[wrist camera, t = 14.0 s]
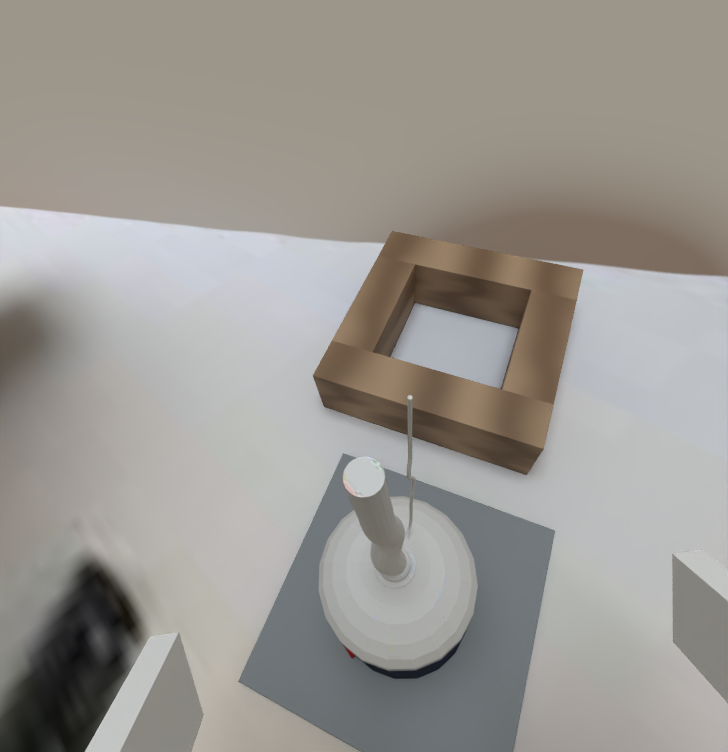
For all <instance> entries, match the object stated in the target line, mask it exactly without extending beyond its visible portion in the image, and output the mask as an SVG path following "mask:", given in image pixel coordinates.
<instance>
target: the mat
mask: <svg viewBox="0 0 728 752" xmlns="http://www.w3.org/2000/svg"><path fill="white" fill-rule="evenodd" d="M353 459H356V458H355V457H352V456H349V455H347V454H344V453H343V455H342V458H341V460H340V462H339V464H338V466H337V468H336V471H335V473H334V475H333V477H332V479H331V481H330V484H329V486H328V488H327V490H326V492H325V494H324V497H323V499H322V501H321V503H320V505H319V508H318V510H317V512H316V514H315V516H314V518H313V521H312V523H311V525H310V527H309V529H308V531H307V534H306V536H305V538H304V540H303V542H302V544H301V547H300V549H299V551H298V553H297V555H296V557H295V560H294V562H293V564H292V566H291V568H290V570H289V573H288V575H287V577H286V579H285V581H284V583H283V586H282V588H281V590H280V592H279V594H278V597H277V599H276V601H275V603H274V605H273V607H272V610H271V612H270V614H269V616H268V618H267V620H266V623H265V625H264V627H263V629H262V631H261V633H260V636H259V638H258V640H257V642H256V644H255V646H254V649H253V651H252V653H251V655H250V657H249V659H248V662H247V664H246V666H245V668H244V670H243V672H242V675H241V677H240V679H239V681H238V682H240V683H242V684H243V685H245V686H247V687H249V688H250V689H252V690H254V691H256V692H257V693H259V694H261V695H263V696H264V697H266V698H268V699H270V700H271V701H273V702H275V703H277V704H279V705H280V706H282V707H284V708H286V709H287V710H289V711H291V712H293V713H294V714H296V715H298V716H300V717H301V718H303V719H305V720H307V721H308V722H310V723H312V724H314V725H315V726H317V727H319V728H321V729H322V730H324V731H326V732H328V733H329V734H331V735H333V736H335V737H337V738H338V739H340V740H342V741H344V742H345V743H347V744H349V745H351V746H352V747H354V748H356V749H358V750H359V751H361V752H513V749H514V743H515V738H516V733H517V728H518V722H519V717H520V712H521V706H522V701H523V696H524V691H525V685H526V680H527V675H528V670H529V664H530V659H531V654H532V649H533V643H534V638H535V633H536V628H537V622H538V617H539V612H540V606H541V601H542V596H543V591H544V585H545V580H546V575H547V570H548V564H549V559H550V554H551V549H552V543H553V538H554V533H555V531H554V530H552V529H549V528H546V527H544V526H541V525H538V524H535V523H533V522H530V521H527V520H524V519H522V518H519V517H516V516H513V515H511V514H508V513H505V512H503V511H500V510H497V509H494V508H492V507H489V506H486V505H483V504H481V503H478V502H475V501H472V500H470V499H467V498H464V497H461V496H459V495H456V494H453V493H451V492H448V491H445V490H442V489H440V488H437V487H434V486H431V485H429V484H426V483H423V482H420V481H418V480H416V483H415V490H414V496H413V499H416V500H420V501H423V502H426V503H428V504H430V505H431V506H433V507H434V508H436V509H437V510H439V511H441V512H442V513H444V514H445V515H447V516H448V518H449V519H450V520H451V521H452V522H453V523H454V525H455V526H456V527H457V528H458V529H459V530H460V532H461V533H462V534H463V536H464V538H465V540H466V542H467V544H468V547H469V549H470V551H471V553H472V555H473V558H474V562H475V569H476V576H477V583H478V588H477V594H476V601H475V607H474V614H473V617H472V619H471V621H470V623H469V625H468V627H467V629H466V633H465V635H464V637H463V639H462V641H461V643H460V645H459V647H458V649H457V651H456V653H455V654H454V655H453V656H452V657H451V658H450V659H449V660H448V661H447V662H446V663H445V664H444V665H443V666H442V667H441V668H440V669H439V670H436V671H434V672H432V673H429V674H427V675H425V676H422V677H420V678H417V679H394V678H391V677H388V676H386V675H383V674H380V673H378V672H375V671H373V670H371V669H370V668H369V667H368V666H367V665H366V664H364V663H363V662H362V661H361V660H360V659H358V658H357V657H356V656H355V657H354V658H351V657H350V655H349V654H348V652H347V651H346V649H345V647H344V646H343V644H341V642H340V640H339V639H338V637H337V636H336V634H335V632H334V631H333V629H332V627H331V626H330V624H329V623H328V621H327V619H326V618H325V614H324V610H323V606H322V602H321V598H320V594H319V564H320V561H321V558H322V555H323V552H324V549H325V546H326V543H327V540H328V538H329V537H330V535H331V534H332V532H333V531H334V529H335V528H336V527H337V525H338V524H339V522H340V521H341V520H342V519H343V518H344V517H345V516H347V515H348V514H349V513H350V512H352V511H353V510H354V509H353V507H352V504H351V502H350V499H349V497H348V494H347V491H346V489H345V486H344V483H343V473H344V470H345V468H346V466H347V465H348V463H350V462H351V461H352V460H353ZM383 469H384V472H385V478H386V483H387V488H388V492H389V496H390V497H397V496H405V497H408V498H410V492H411V486H412V480H409V479H407V476H404V475H401V474H399V473H396V472H393V471H390V470H388V469H385V468H383Z"/></svg>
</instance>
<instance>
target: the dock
mask: <svg viewBox="0 0 728 752" xmlns="http://www.w3.org/2000/svg"><path fill="white" fill-rule="evenodd" d="M582 274H583V270H582V269H577V268H572V267H567V266H563V265H558V264H553V263H548V262H543V261H538V260H533V259H528V258H523V257H518V256H513V255H508V254H503V253H498V252H493V251H488V250H483V249H478V248H473V247H468V246H464V245H458V244H454V243H448V242H444V241H439V240H434V239H428V238H424V237H419V236H414V235H409V234H404V233H399V232H394V231H392V232H391V234H390V236H389V238H388V240H387V241H386V243H385V245H384V247H383V249H382V250H381V252H380V254H379V256H378V258H377V260H376V261H375V263H374V265H373V267H372V269H371V271H370V272H369V274H368V276H367V278H366V280H365V281H364V283H363V285H362V287H361V289H360V291H359V292H358V294H357V296H356V298H355V300H354V302H353V303H352V305H351V307H350V309H349V311H348V312H347V314H346V316H345V318H344V320H343V322H342V323H341V325H340V327H339V329H338V331H337V333H336V334H335V336H334V338H333V340H332V342H331V343H330V345H329V347H328V349H327V351H326V353H325V354H324V356H323V358H322V360H321V362H320V364H319V365H318V367H317V369H316V371H315V373H314V374H313V377H314V380H315V383H316V386H317V388H318V391H319V394H320V397H321V399H322V402H323V405H324V407H327V408H330V409H333V410H336V411H339V412H342V413H345V414H348V415H351V416H354V417H357V418H360V419H363V420H366V421H368V422H371V423H374V424H377V425H380V426H383V427H386V428H389V429H392V430H395V431H398V432H401V433H404V434H407V435H408V401H407V397H408V396H409V395H411V396H412V436H413V437H416V438H419V439H422V440H425V441H428V442H431V443H434V444H437V445H440V446H443V447H446V448H449V449H451V450H454V451H457V452H460V453H463V454H466V455H469V456H472V457H475V458H478V459H481V460H484V461H487V462H490V463H493V464H496V465H499V466H502V467H505V468H508V469H511V470H514V471H517V472H520V473H523V474H526V475H527V473H528V472H529V470H530V469H531V467H532V466H533V464H534V463H535V461H536V460H537V458H538V457H539V455H540V454H541V452H542V451H543V449H544V445H545V440H546V436H547V431H548V427H549V422H550V418H551V413H552V409H553V404H554V400H555V395H556V391H557V386H558V382H559V377H560V373H561V368H562V364H563V359H564V355H565V350H566V346H567V341H568V337H569V332H570V328H571V323H572V319H573V314H574V310H575V305H576V301H577V296H578V292H579V287H580V283H581V278H582ZM414 303H419V304H423V305H427V306H432V307H436V308H440V309H444V310H448V311H452V312H456V313H460V314H464V315H468V316H472V317H476V318H480V319H484V320H488V321H492V322H496V323H500V324H504V325H508V326H513V327H517V328H519V329H518V333H517V336H516V339H515V343H514V346H513V350H512V353H511V356H510V360H509V363H508V367H507V370H506V373H505V377H504V380H503V384H502V387H501V389H498V388H495V387H491V386H488V385H484V384H481V383H477V382H474V381H471V380H467V379H464V378H460V377H457V376H453V375H450V374H446V373H443V372H439V371H436V370H432V369H429V368H425V367H422V366H419V365H415V364H412V363H408V362H405V361H401V360H398V359H394V358H391V357H390V356H391V353H392V351H393V349H394V347H395V345H396V343H397V340H398V338H399V336H400V334H401V332H402V329H403V327H404V325H405V323H406V321H407V319H408V316H409V314H410V312H411V310H412V308H413V305H414Z"/></svg>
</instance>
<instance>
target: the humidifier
mask: <svg viewBox="0 0 728 752" xmlns="http://www.w3.org/2000/svg"><path fill="white" fill-rule="evenodd" d="M407 401H408V464H407V479H409V480H412V486H411V492H410V498H408V497H405V496H397V497H390V496H389V492H388V488H387V483H386V478H385V472H384V469H383V467H382V465H381V464H380V463H379V462H378V461H377V460H375V459H373V458H371V457H366V456H365V457H358V458H356V459H353V460H352V461H351V462H350V463H348V465H347V466H346V468H345V470H344V473H343V483H344V486H345V489H346V491H347V494H348V497H349V499H350V502H351V504H352V507H353V509H354V510H353V511H352V512H350V513H349V514H348V515H347V516H345V517H344V518H343V519H342V520H341V521H340V522H339V524H338V525H337V527H336V528H335V529H334V531H333V532H332V534H331V535H330V537H329V538H328V540H327V543H326V546H325V549H324V552H323V555H322V558H321V561H320V564H319V594H320V598H321V602H322V606H323V610H324V614H325V618H326V619H327V621H328V623H329V624H330V626H331V627H332V629H333V631H334V632H335V634H336V636H337V637H338V639H339V640H340V642H341V644H343V646H344V647H345V649H346V651H347V652H348V654H349V655H350V657H351V658H354V657H355V656H356V657H357V658H358V659H360V660H361V661H362V662H363V663H364V664H366V665H367V666H368V667H369V668H370V669H371V670H373V671H375V672H378V673H380V674H383V675H386V676H388V677H391V678H394V679H417V678H420V677H422V676H425V675H427V674H429V673H432V672H434V671H436V670H439V669H440V668H441V667H442V666H443V665H444V664H445V663H446V662H447V661H448V660H449V659H450V658H451V657H452V656H453V655H454V654H455V653H456V651H457V649H458V647H459V645H460V643H461V641H462V639H463V637H464V635H465V633H466V629H467V627H468V625H469V623H470V621H471V619H472V617H473V614H474V607H475V601H476V594H477V588H478V583H477V576H476V569H475V562H474V558H473V555H472V553H471V551H470V549H469V547H468V544H467V542H466V540H465V538H464V536H463V534H462V533H461V532H460V530H459V529H458V528H457V527H456V526H455V525H454V523H453V522H452V521H451V520H450V519H449V518H448V516H447V515H445V514H444V513H442V512H441V511H439V510H437V509H436V508H434V507H433V506H431V505H430V504H428V503H426V502H423V501H420V500H416V499H413V496H414V490H415V483H416V478H414V477H412V476H411V464H412V396H411V395H409V396H408V397H407Z"/></svg>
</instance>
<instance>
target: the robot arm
mask: <svg viewBox="0 0 728 752" xmlns="http://www.w3.org/2000/svg"><path fill="white" fill-rule="evenodd" d="M673 642H674V643H675V644H676V646H677V647H678V648H679V649H680V650H681V651H682V652H683V653H684V655H685V656H686V657H687V658H688V659H689V660H690V661H691V662H692V664H693V665H694V666H695V667H696V668H697V669H698V670H699V671H700V673H701V674H702V675H703V676H704V677H705V678H706V679H707V680H708V682H709V683H710V684H711V685H712V686H713V687H714V688H715V689H716V691H717V692H718V693H719V694H720V695H721V696H722V697H723V698H724V700H725V701H726V702H727V703H728V569H727V568H725V567H724V566H723V565H721V564H720V563H719V562H717V561H716V560H715V559H714V558H712V557H711V556H710V555H708V554H707V553H706V552H704V551H703V550H702V549H700V550H694V551H688V552H681V553H675V554H673ZM202 718H203V711H202V708H201V705H200V701H199V698H198V695H197V691H196V688H195V684H194V681H193V678H192V674H191V671H190V668H189V664H188V661H187V658H186V654H185V651H184V648H183V644H182V641H181V638H180V634H179V632H175V633H169V634H162V635H156V636H150V638H149V640H148V641H147V643H146V645H145V647H144V648H143V650H142V652H141V654H140V655H139V657H138V659H137V661H136V662H135V664H134V666H133V668H132V670H131V671H130V673H129V675H128V677H127V678H126V680H125V682H124V684H123V685H122V687H121V689H120V691H119V693H118V694H117V696H116V698H115V700H114V701H113V703H112V705H111V707H110V708H109V710H108V712H107V714H106V715H105V717H104V719H103V721H102V723H101V724H100V726H99V728H98V730H97V731H96V733H95V735H94V737H93V738H92V740H91V742H90V744H89V746H88V747H87V749H86V751H85V752H191V750H192V748H193V745H194V742H195V739H196V736H197V733H198V730H199V727H200V724H201V721H202Z"/></svg>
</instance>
